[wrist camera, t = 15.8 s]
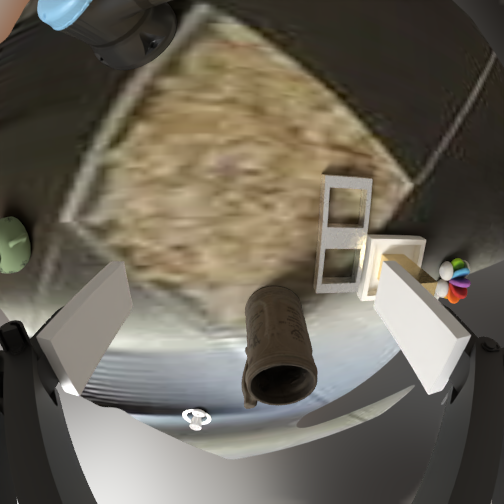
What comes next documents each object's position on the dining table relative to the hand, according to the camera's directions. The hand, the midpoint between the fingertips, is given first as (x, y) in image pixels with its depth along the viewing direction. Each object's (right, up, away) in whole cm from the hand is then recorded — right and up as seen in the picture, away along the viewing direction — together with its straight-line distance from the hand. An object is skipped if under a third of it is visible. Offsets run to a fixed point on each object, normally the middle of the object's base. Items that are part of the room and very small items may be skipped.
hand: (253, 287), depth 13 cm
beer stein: (+3, -11, +38) cm, 40 cm away
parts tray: (+26, -1, +34) cm, 43 cm away
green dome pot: (-53, +5, +32) cm, 62 cm away
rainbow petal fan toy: (+43, -3, +36) cm, 56 cm away
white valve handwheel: (-12, -42, +51) cm, 67 cm away
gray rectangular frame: (+15, +5, +32) cm, 36 cm away
